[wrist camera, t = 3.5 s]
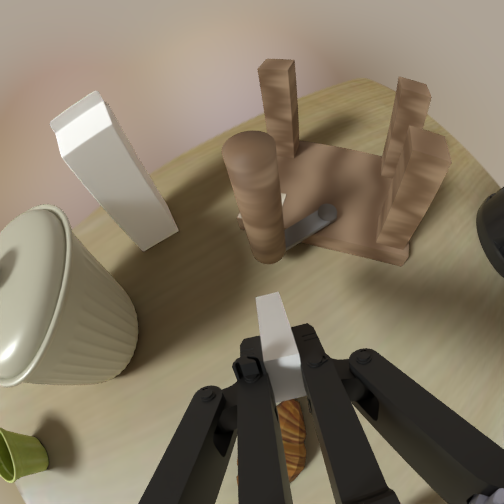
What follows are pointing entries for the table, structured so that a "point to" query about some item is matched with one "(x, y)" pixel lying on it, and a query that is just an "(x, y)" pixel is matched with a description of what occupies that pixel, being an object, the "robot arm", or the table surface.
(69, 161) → the milk
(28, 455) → the plant pot
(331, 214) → the hinged leg
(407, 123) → the stool seat
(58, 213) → the canister
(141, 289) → the table surface
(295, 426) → the croissant
